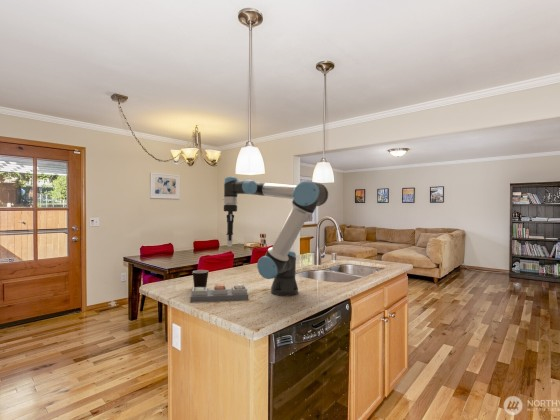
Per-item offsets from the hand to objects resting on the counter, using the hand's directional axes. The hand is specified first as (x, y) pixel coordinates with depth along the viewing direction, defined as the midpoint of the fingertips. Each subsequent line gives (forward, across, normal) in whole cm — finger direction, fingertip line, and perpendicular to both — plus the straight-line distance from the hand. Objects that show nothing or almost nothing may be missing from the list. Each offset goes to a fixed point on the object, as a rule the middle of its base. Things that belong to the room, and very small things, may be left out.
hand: (229, 246), depth 175 cm
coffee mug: (+25, -4, -15) cm, 29 cm away
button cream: (+20, +15, +4) cm, 26 cm away
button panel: (+24, +15, -6) cm, 29 cm away
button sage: (+22, +15, -15) cm, 31 cm away
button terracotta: (+20, +15, -6) cm, 26 cm away
